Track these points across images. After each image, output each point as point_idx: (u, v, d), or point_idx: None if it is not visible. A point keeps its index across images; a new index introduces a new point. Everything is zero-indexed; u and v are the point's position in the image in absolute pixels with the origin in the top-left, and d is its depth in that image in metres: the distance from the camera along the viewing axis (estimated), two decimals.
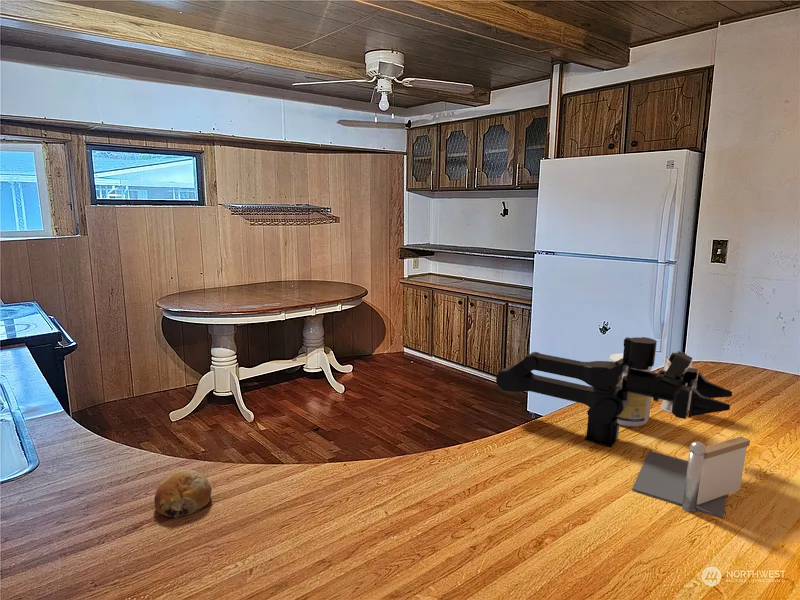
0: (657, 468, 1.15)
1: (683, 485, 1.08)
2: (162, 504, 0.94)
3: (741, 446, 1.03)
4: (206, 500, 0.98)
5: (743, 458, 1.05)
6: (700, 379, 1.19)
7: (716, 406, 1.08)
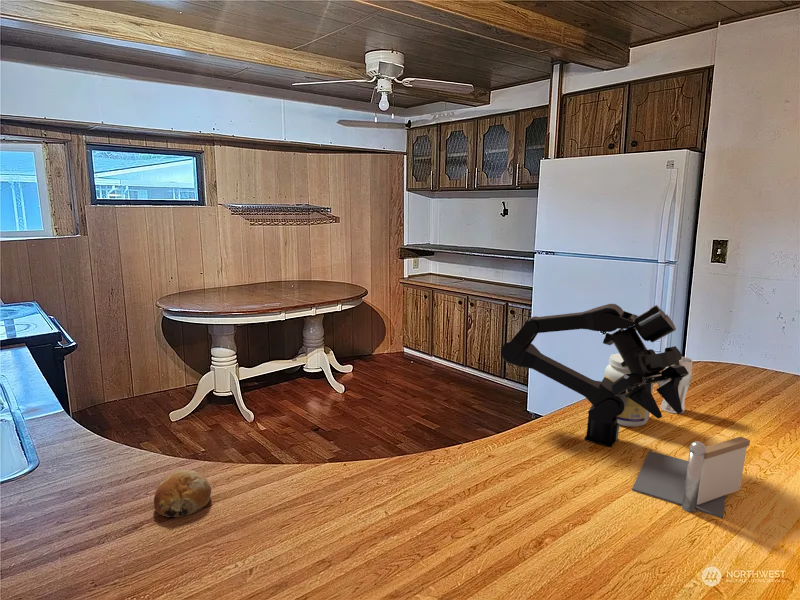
0: (657, 468, 1.15)
1: (683, 485, 1.08)
2: (161, 504, 0.94)
3: (741, 446, 1.03)
4: (206, 500, 0.97)
5: (743, 458, 1.05)
6: (672, 382, 1.16)
7: (651, 408, 1.12)
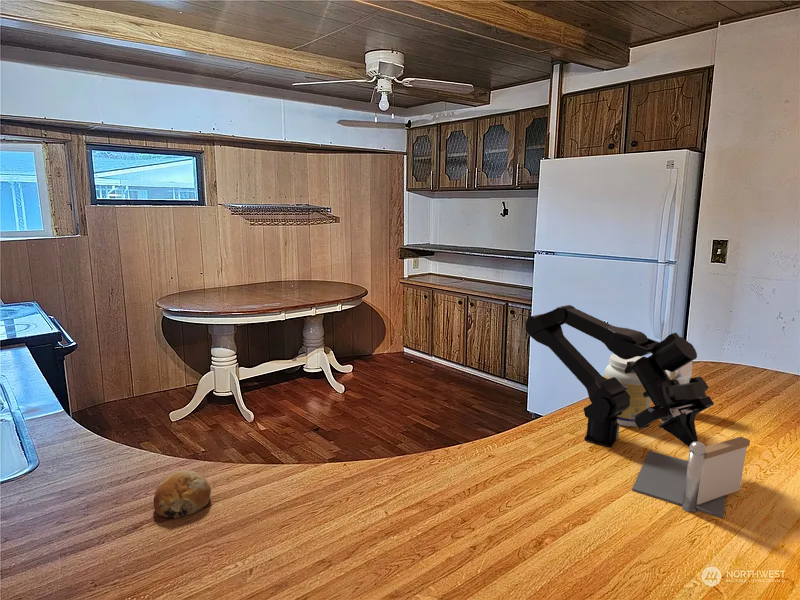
0: (657, 468, 1.15)
1: (683, 485, 1.08)
2: (161, 505, 0.94)
3: (741, 446, 1.03)
4: (205, 501, 0.97)
5: (743, 458, 1.05)
6: (688, 416, 1.10)
7: (686, 439, 1.09)
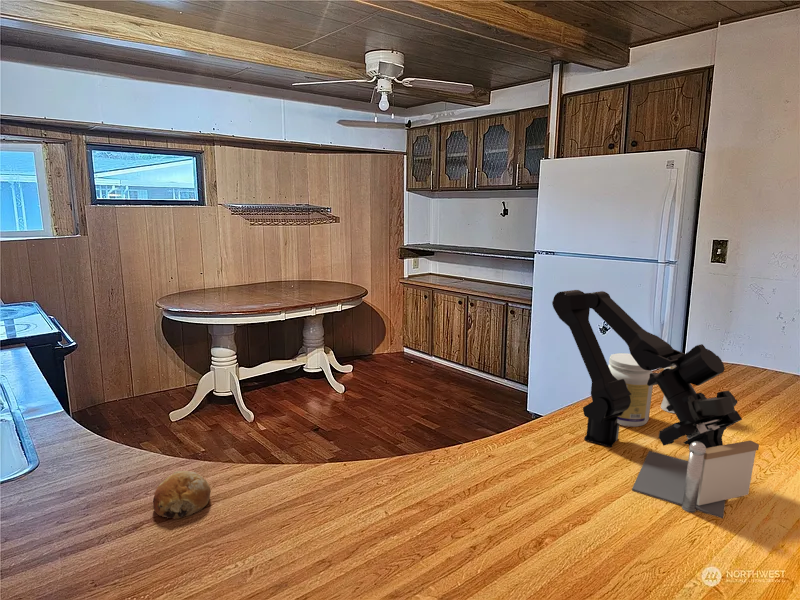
0: (657, 468, 1.15)
1: (683, 485, 1.08)
2: (160, 505, 0.93)
3: (748, 450, 1.01)
4: (205, 501, 0.97)
5: (752, 462, 1.03)
6: (715, 433, 1.05)
7: None
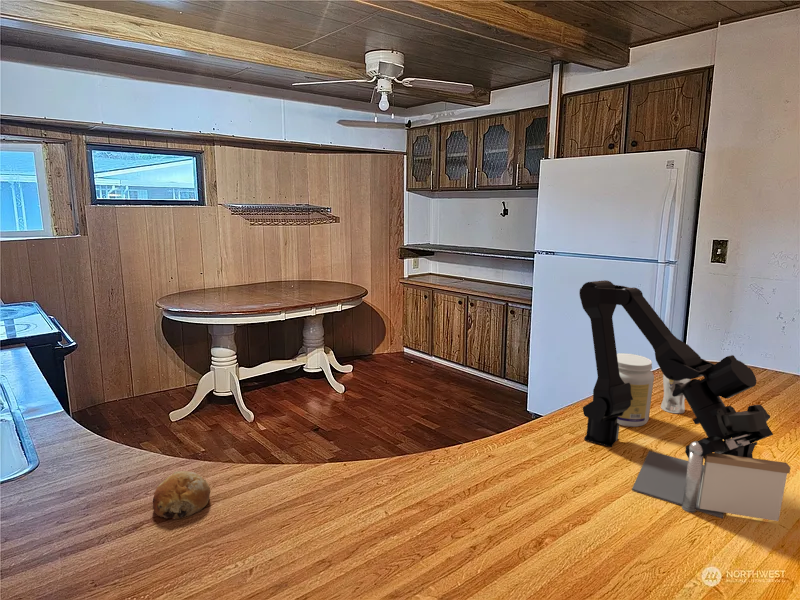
0: (657, 468, 1.15)
1: (683, 485, 1.08)
2: (160, 506, 0.93)
3: (773, 469, 0.94)
4: (205, 502, 0.97)
5: (782, 485, 0.95)
6: (745, 448, 0.99)
7: None
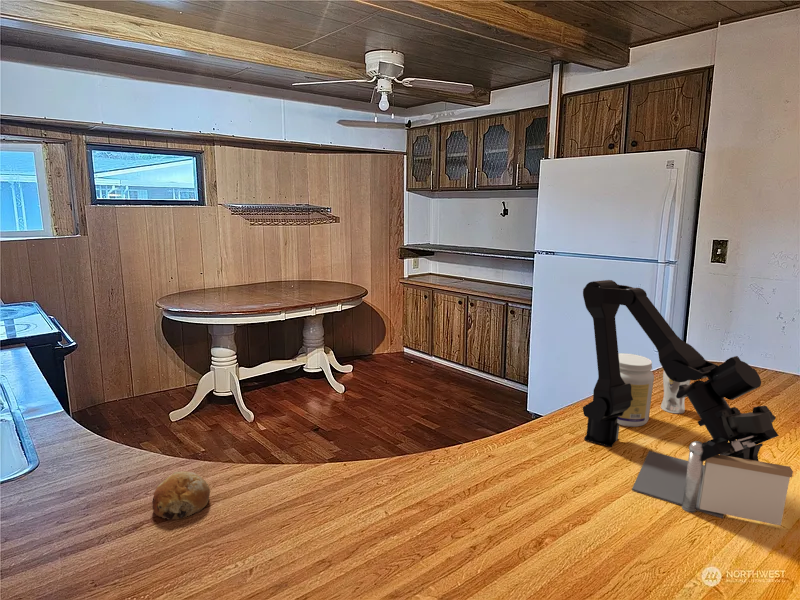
0: (657, 468, 1.15)
1: (683, 485, 1.08)
2: (160, 506, 0.93)
3: (774, 472, 0.93)
4: (204, 502, 0.97)
5: (784, 489, 0.93)
6: (751, 450, 0.99)
7: None
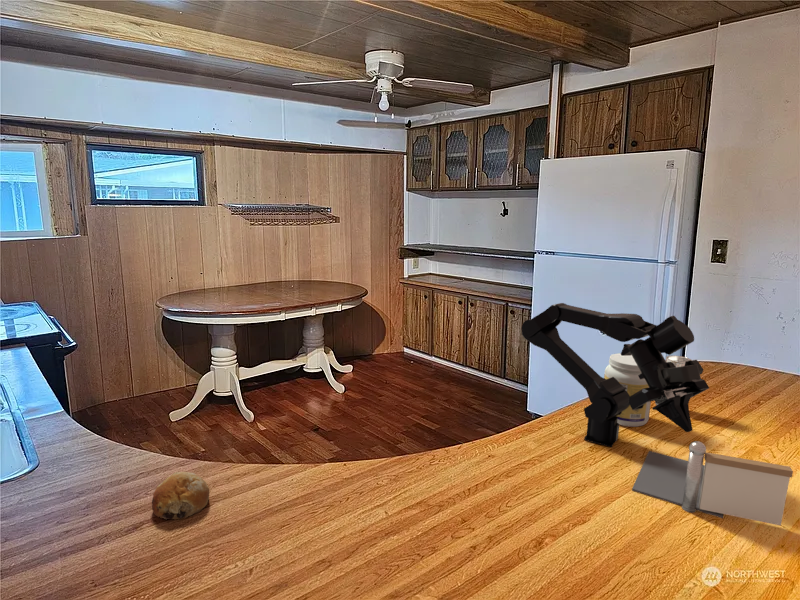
0: (657, 468, 1.15)
1: (683, 485, 1.08)
2: (159, 506, 0.93)
3: (774, 472, 0.93)
4: (204, 502, 0.97)
5: (784, 489, 0.93)
6: (682, 399, 1.11)
7: (680, 421, 1.10)
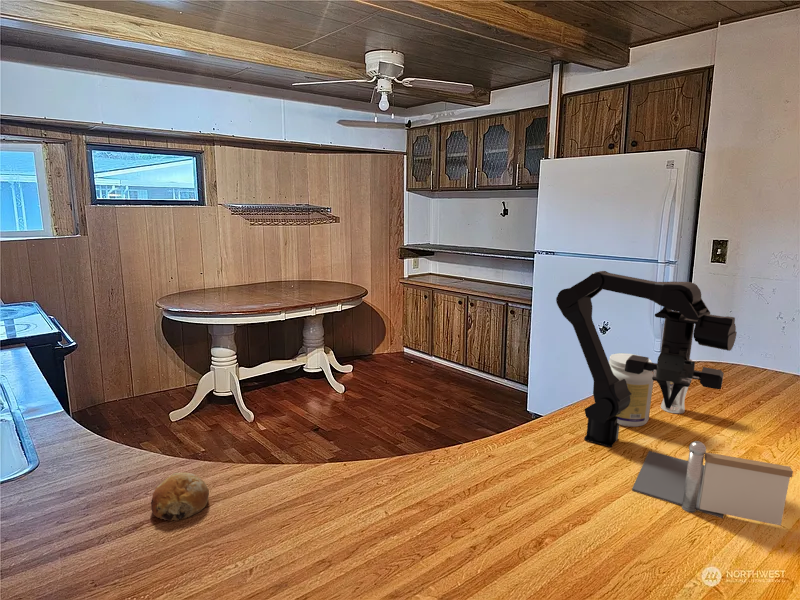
0: (657, 468, 1.15)
1: (683, 485, 1.08)
2: (158, 507, 0.93)
3: (774, 472, 0.93)
4: (203, 503, 0.97)
5: (784, 489, 0.93)
6: None
7: None
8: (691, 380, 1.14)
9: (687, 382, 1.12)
